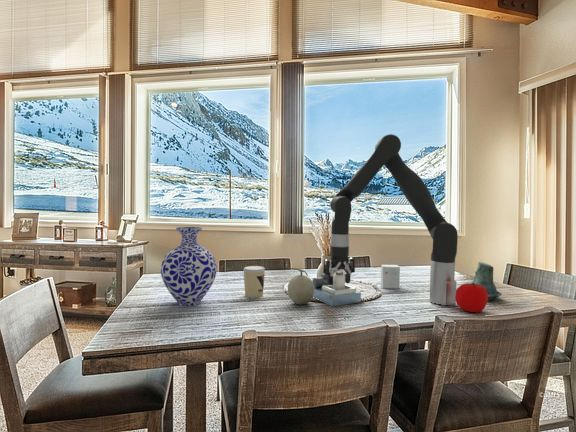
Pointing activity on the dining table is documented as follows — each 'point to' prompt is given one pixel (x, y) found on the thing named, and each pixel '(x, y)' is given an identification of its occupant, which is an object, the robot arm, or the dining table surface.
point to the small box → (390, 276)
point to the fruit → (300, 288)
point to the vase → (188, 269)
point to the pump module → (338, 281)
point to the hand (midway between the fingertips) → (339, 283)
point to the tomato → (471, 297)
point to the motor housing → (334, 293)
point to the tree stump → (486, 279)
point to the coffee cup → (254, 281)
